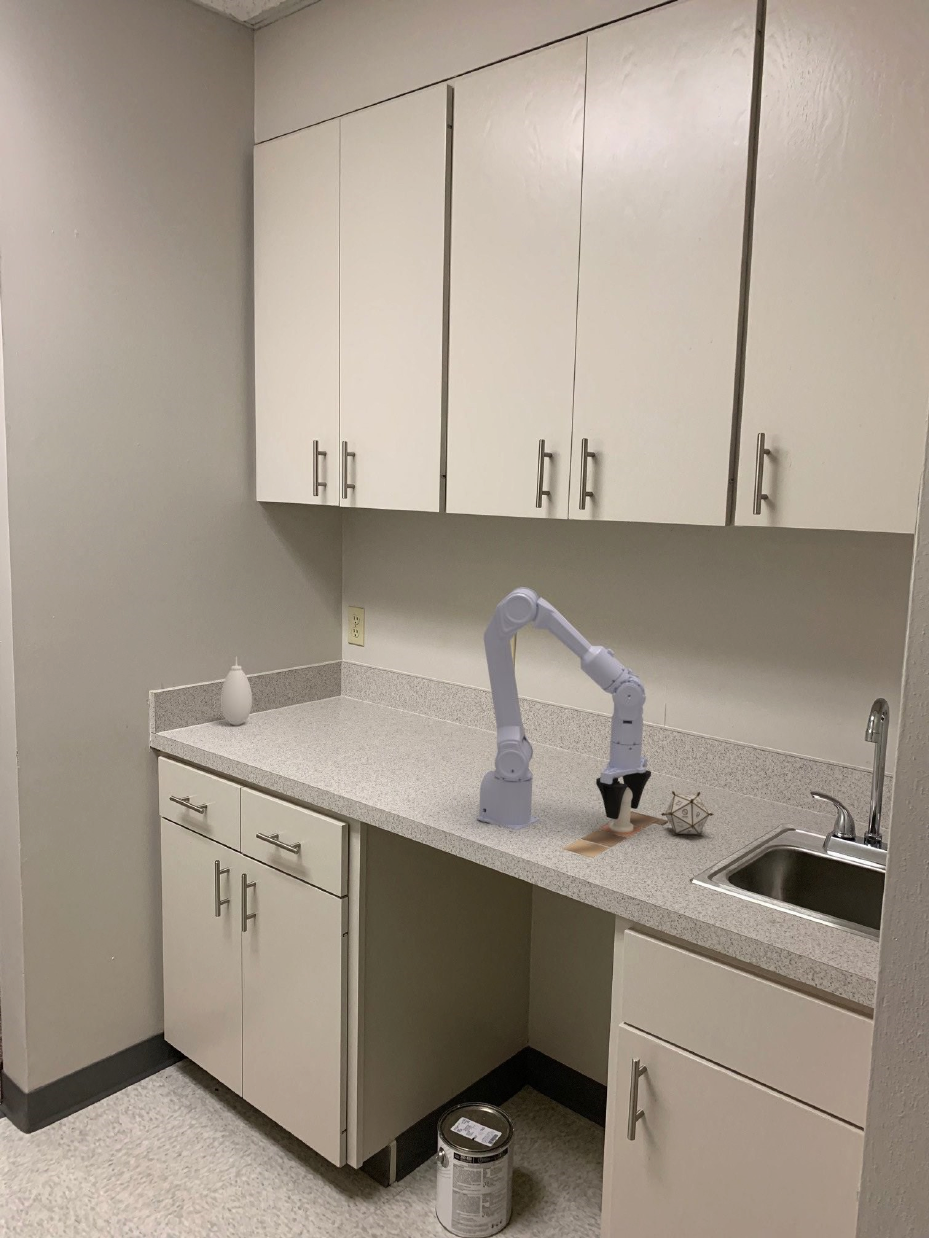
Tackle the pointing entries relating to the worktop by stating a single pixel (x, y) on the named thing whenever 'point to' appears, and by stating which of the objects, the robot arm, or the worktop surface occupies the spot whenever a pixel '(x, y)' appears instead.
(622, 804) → the pawn
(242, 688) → the air blower bulb
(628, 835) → the board
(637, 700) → the robot arm
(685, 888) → the worktop surface
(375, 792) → the worktop surface
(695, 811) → the game die
